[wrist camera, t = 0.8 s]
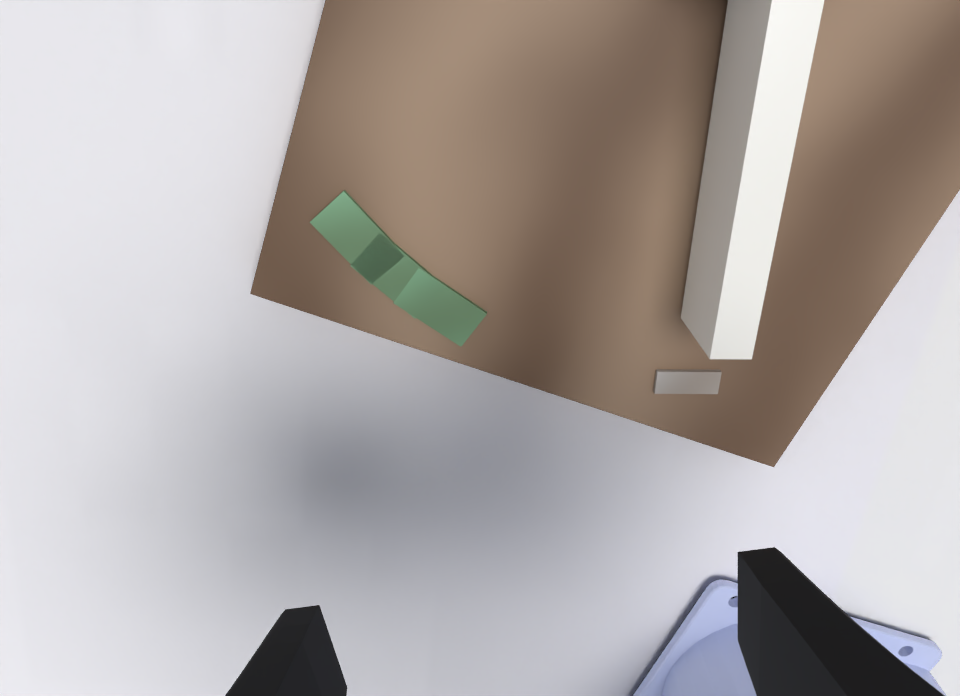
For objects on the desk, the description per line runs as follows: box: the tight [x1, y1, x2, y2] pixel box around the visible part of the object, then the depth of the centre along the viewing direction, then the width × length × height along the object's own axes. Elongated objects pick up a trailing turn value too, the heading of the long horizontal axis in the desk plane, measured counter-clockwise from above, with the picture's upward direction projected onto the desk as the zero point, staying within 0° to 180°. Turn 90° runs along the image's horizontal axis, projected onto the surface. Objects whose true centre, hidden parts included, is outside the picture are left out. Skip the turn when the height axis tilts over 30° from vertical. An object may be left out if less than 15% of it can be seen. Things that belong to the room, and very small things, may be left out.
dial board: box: [250, 0, 960, 467], centre depth 17 cm, size 16×18×1 cm
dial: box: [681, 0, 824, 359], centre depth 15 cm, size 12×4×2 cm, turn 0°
